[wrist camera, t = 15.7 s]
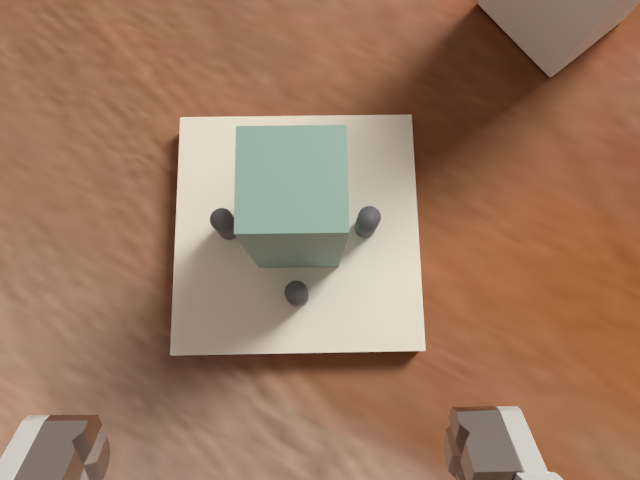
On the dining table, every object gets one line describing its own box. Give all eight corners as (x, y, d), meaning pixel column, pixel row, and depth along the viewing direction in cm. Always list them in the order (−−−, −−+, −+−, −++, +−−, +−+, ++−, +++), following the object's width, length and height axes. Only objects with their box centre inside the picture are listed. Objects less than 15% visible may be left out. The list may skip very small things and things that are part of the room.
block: (336, 190, 29) (346, 125, 20) (338, 266, 28) (349, 232, 19) (259, 191, 29) (235, 125, 20) (259, 268, 28) (233, 234, 19)
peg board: (407, 125, 32) (420, 94, 28) (420, 350, 29) (436, 351, 25) (186, 127, 31) (168, 97, 27) (177, 354, 28) (155, 357, 25)
